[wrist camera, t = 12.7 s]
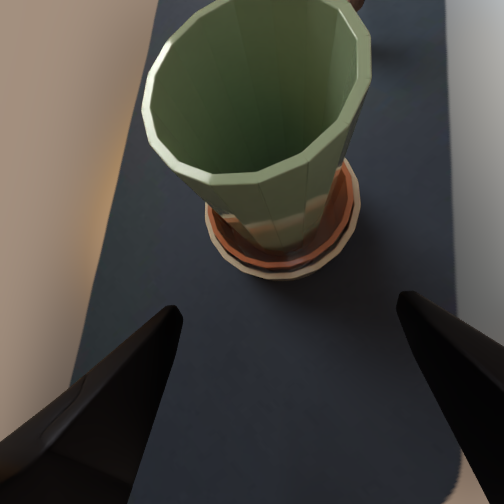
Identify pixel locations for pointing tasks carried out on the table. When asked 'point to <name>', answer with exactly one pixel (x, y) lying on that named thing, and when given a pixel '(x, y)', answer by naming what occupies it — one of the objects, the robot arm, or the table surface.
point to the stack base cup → (303, 272)
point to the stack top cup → (340, 211)
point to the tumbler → (261, 111)
